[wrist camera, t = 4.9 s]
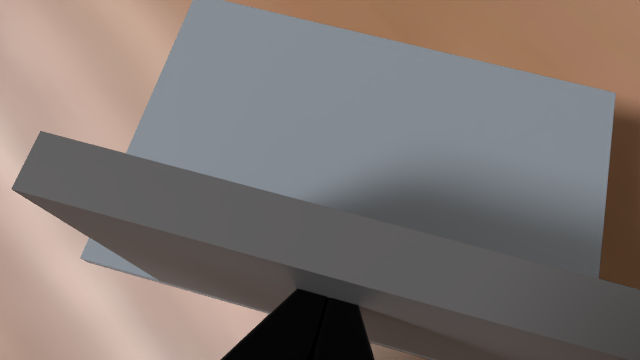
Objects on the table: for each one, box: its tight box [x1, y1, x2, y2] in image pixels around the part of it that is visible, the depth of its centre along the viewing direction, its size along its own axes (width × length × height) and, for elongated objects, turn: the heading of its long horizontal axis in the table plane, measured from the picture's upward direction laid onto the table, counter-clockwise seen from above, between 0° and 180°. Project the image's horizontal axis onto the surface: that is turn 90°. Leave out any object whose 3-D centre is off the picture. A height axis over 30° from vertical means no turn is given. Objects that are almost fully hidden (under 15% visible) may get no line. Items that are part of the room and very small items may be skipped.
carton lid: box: [12, 0, 640, 360], centre depth 11 cm, size 8×12×7 cm, turn 75°
